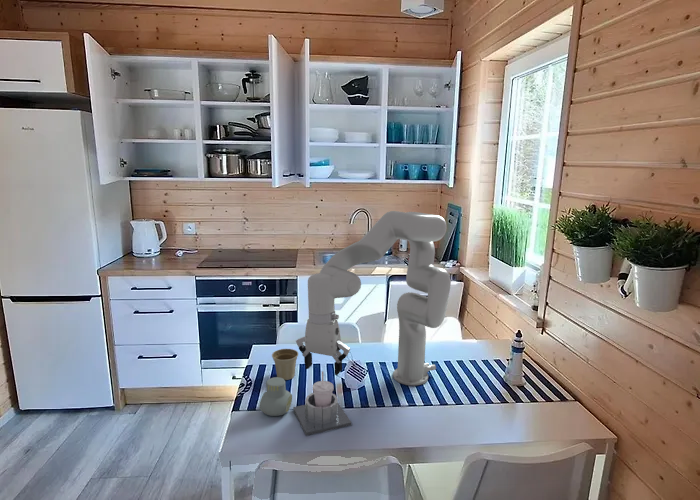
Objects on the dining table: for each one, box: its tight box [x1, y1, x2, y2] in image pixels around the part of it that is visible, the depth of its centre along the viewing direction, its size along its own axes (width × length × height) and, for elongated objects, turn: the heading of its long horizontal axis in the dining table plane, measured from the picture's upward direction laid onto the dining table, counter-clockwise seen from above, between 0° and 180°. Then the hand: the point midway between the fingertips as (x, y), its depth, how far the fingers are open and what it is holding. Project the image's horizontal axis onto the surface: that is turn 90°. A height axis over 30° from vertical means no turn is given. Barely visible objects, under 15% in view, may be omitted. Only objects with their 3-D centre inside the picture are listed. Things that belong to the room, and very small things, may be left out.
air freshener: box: [259, 376, 293, 417], centre depth 136 cm, size 11×8×10 cm
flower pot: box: [271, 348, 299, 381], centre depth 157 cm, size 9×9×9 cm
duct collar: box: [292, 392, 352, 437], centre depth 133 cm, size 14×14×6 cm
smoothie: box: [312, 371, 335, 407], centre depth 131 cm, size 6×6×14 cm
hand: (323, 370), depth 130 cm, fingers open, 9 cm apart
